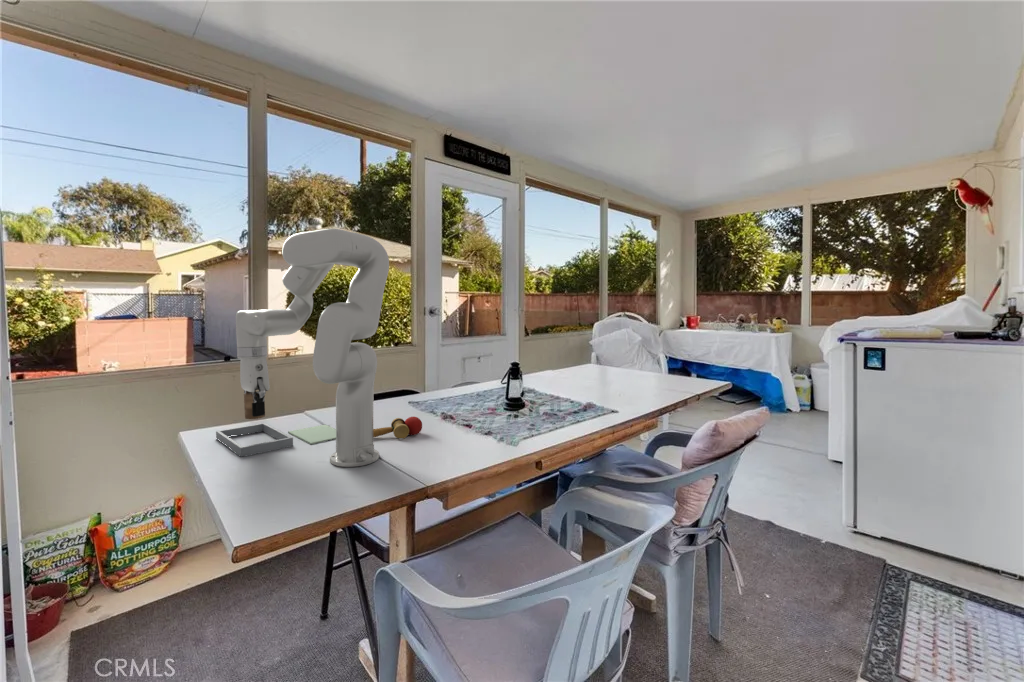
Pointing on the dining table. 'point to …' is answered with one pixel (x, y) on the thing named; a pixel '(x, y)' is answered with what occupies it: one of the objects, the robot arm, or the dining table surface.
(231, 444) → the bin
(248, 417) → the brown wooden cylinder
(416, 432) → the kendama
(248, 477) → the dining table surface
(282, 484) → the dining table surface
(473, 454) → the dining table surface
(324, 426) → the pad
